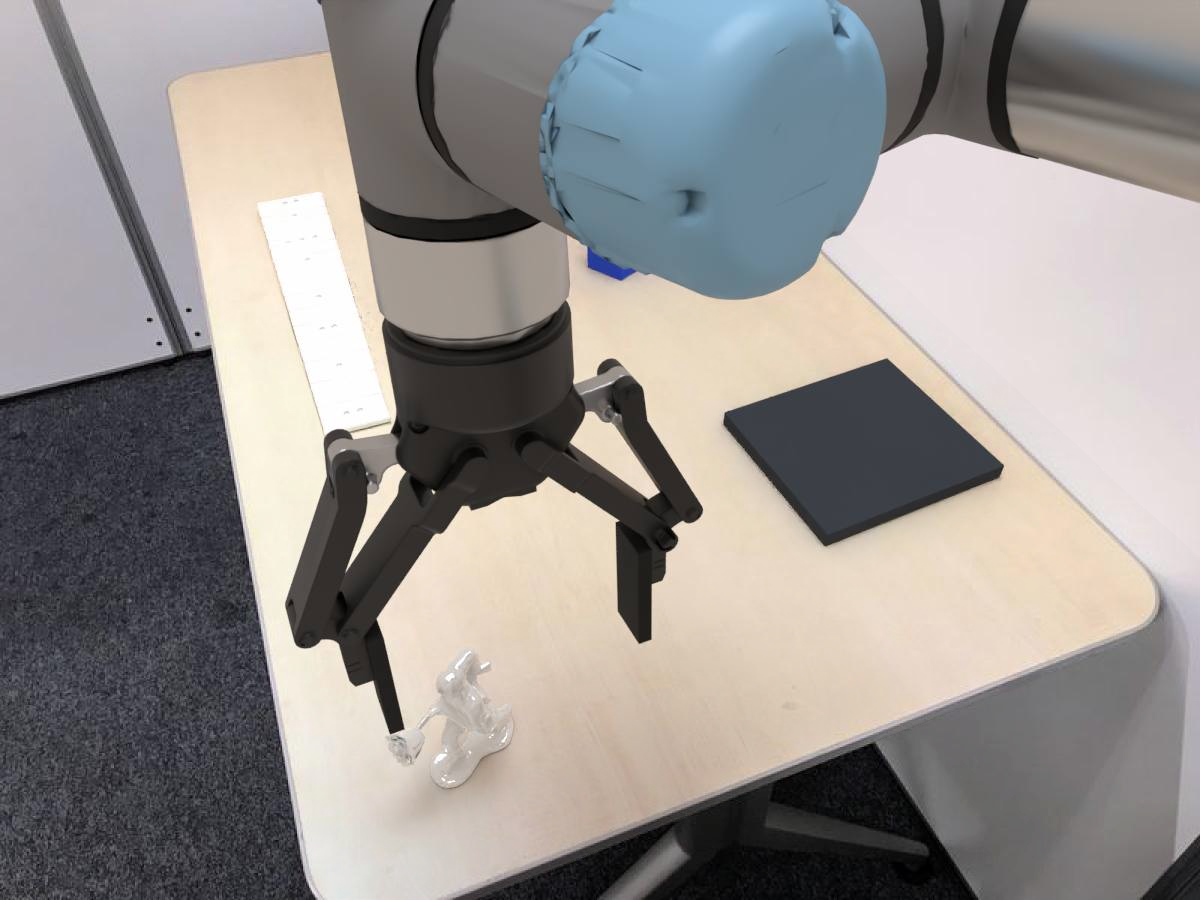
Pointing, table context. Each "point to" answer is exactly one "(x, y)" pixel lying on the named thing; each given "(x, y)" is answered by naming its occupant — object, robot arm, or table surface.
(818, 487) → the display mat
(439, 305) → the robot arm
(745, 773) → the table surface
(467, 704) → the figurine
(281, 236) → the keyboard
